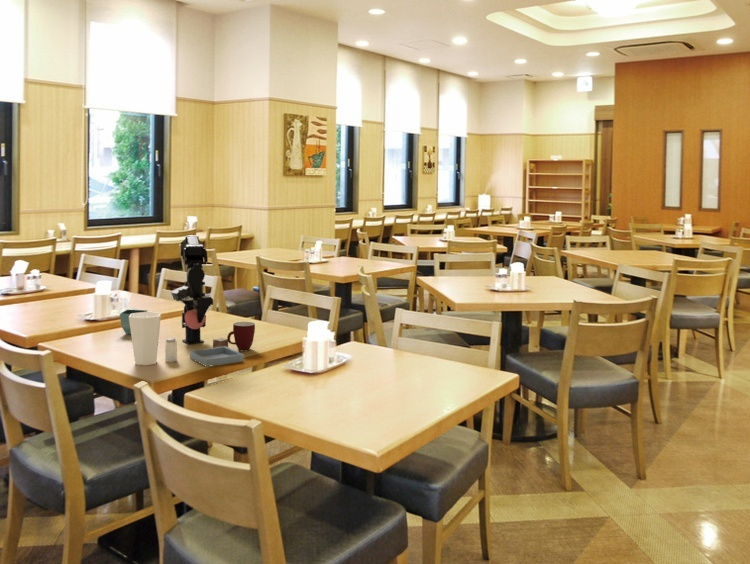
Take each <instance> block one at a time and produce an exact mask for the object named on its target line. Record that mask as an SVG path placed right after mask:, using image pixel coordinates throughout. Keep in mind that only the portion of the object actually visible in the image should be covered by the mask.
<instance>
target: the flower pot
mask: <svg viewBox="0 0 750 564" xmlns="http://www.w3.org/2000/svg"><path fill="white" fill-rule="evenodd" d="M140 312H149V310H148V309H147V310H146V309H144V310H143V309H125V310H124V311H122V312H120V313H119V319H120V325H121V328H122V330H123V332H124V333H125V334H126V335H131V330H130V323H129V316H130V314H132V313H140Z"/></svg>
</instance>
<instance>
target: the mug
mask: <svg viewBox="0 0 750 564" xmlns="http://www.w3.org/2000/svg"><path fill="white" fill-rule="evenodd" d="M255 324H256V323H254V322H252V321H237V322H234V323H233V325H232V326H233V327H232V331H230V332H228V334H227V337H226V339H227V340H228V344H230V345H236V348H237V350H239V351H240V350H244V351H243V352H245V350H247V351H250V349H251V347H252V345H253V342H254V336H255V333H256V332H255V331H256V325H255ZM232 335H233V338H234V341H231V336H232Z"/></svg>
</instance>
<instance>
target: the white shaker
mask: <svg viewBox="0 0 750 564" xmlns="http://www.w3.org/2000/svg"><path fill="white" fill-rule="evenodd" d="M164 353H165V354H164V358H165V359H164V361H165V363H175V362H174V361H176V362H177V361H178V341H177V340H176V338H172V337H170V338H166V339H165V341H164Z"/></svg>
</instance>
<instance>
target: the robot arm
mask: <svg viewBox="0 0 750 564" xmlns="http://www.w3.org/2000/svg"><path fill="white" fill-rule="evenodd" d="M179 248H180V249H179V250H180V253H179V254H180V255H179V256H180V257H181V258H182V259H181V260H182V263H183V264H184V266H185V268H186V281H184V283H183V286H180V287H177V288H175V289H173V290H171V291H170V293H171V296H172V299H173V300H174V301H177V302H181V303H182V304H183V305H184V307H183V312H181V327H182V329H185V339H182V340H181V341H182V342H183V343H186V344H187V345H190V344H191V345H193V344H200V343H204V342H205V341H204V340H203V339H201V328H205V327H206V325H207V324H206V321H207V320H206V319H207V315H206V313H207V311H209V308H210V307H211V306H213V305H214V299H213V298H212V297H211V296H209V295H206V293H205V292H204V286H205V285H206V281H204V279H205V271H204V266H203V265H205V266H206V265H207V263H208V260H209V259H208V250H207V248H206V247H204V245H203V242H202V241H201V240H200V238H199V235H195V234H194V235H193V234H192V235H189V234H188V235H185V237H184V239H183V240H182V241H181V242H180V246H179ZM194 308H195V309H196V312H197V320H198V323H201V322H202V320H203V318H204V316H205V322H204V324H203V326H202V327H201V328H199V329H192V328H189V327H188V326H187V324H186V322H185V314H186V312H187V311H189V310H193V309H194Z"/></svg>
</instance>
